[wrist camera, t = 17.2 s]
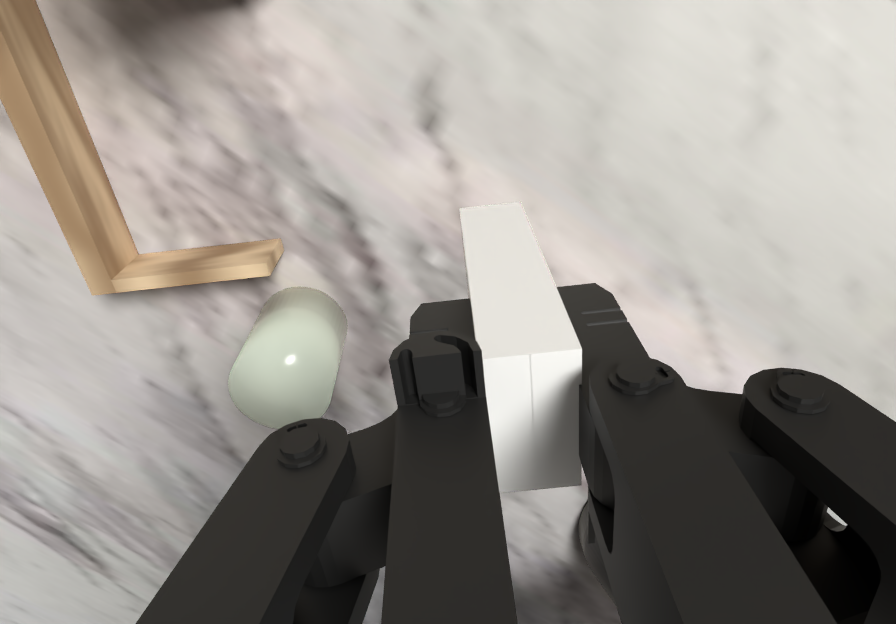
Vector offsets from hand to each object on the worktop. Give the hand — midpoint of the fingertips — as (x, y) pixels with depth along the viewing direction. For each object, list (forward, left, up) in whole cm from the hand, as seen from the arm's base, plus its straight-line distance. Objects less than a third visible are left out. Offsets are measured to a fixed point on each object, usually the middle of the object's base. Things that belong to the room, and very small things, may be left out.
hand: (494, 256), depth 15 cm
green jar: (+13, +15, -24) cm, 31 cm away
